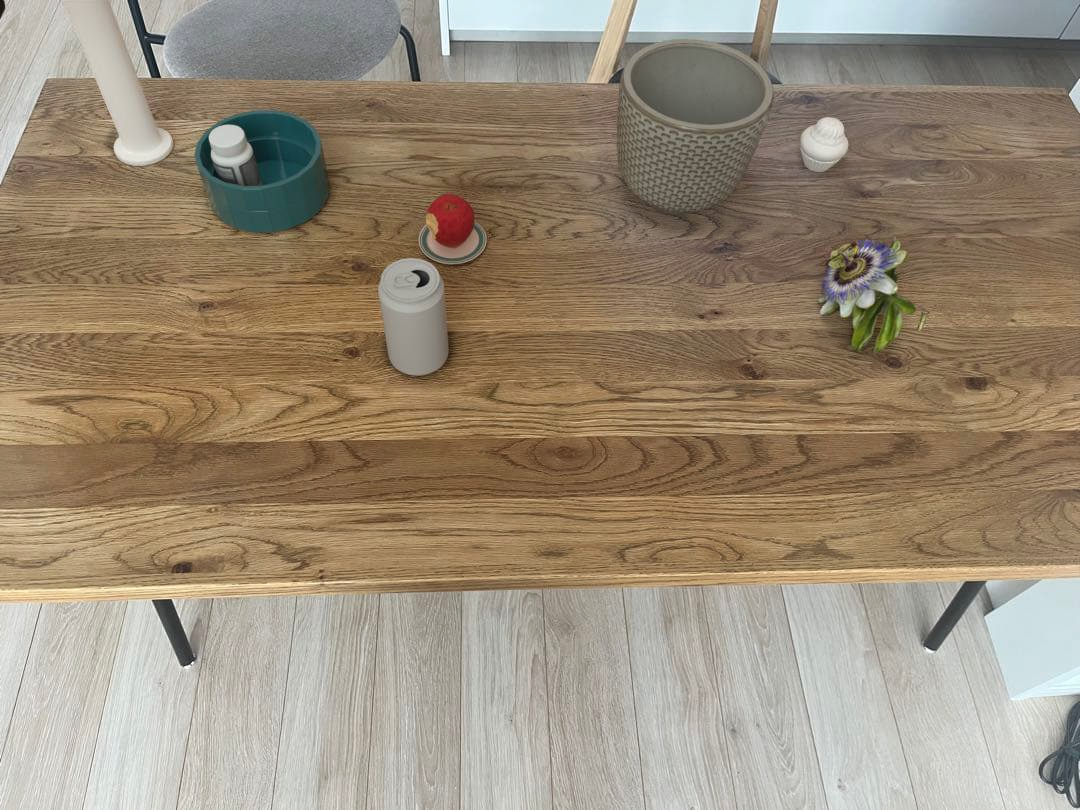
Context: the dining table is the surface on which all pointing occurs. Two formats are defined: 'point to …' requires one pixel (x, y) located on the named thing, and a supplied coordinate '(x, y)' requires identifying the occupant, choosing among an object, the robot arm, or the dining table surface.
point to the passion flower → (867, 290)
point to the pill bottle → (233, 156)
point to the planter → (689, 122)
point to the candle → (118, 83)
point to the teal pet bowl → (269, 173)
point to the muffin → (823, 144)
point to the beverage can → (414, 316)
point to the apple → (451, 231)
